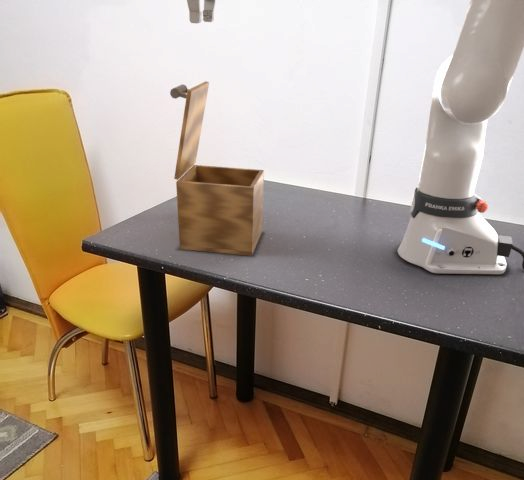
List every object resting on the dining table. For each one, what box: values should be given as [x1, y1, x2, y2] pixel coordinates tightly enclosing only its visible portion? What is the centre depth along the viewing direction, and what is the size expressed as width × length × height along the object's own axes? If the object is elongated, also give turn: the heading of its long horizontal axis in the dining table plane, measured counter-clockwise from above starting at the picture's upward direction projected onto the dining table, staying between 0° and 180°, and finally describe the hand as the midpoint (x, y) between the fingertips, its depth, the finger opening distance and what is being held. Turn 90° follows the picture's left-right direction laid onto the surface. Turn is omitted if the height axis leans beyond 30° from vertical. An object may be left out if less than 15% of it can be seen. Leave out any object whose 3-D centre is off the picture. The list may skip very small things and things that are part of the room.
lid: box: [169, 80, 210, 181], centre depth 107 cm, size 17×14×5 cm
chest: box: [175, 164, 265, 257], centre depth 115 cm, size 16×14×14 cm
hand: (202, 22), depth 97 cm, fingers open, 8 cm apart
